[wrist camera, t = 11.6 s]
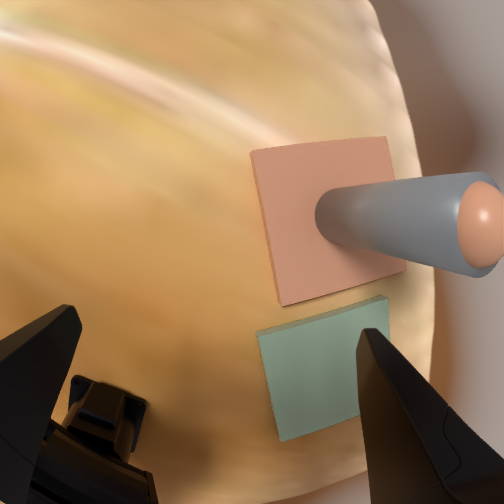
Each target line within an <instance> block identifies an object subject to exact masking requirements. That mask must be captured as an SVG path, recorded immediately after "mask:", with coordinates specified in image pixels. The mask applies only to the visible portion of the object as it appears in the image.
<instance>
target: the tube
mask: <svg viewBox="0 0 504 504" xmlns="http://www.w3.org/2000/svg"><path fill="white" fill-rule="evenodd" d="M315 222H316V226H317V228H318V230H319V232H320V233H321V235H322V236H323V237H324V238H326V239H327V240H329V241H331V242H334V243H338V244H342V245H346V246H350V247H355V248H359V249H363V250H367V251H371V252H375V253H380V254H384V255H388V256H392V257H396V258H400V259H404V260H408V261H412V262H416V263H420V264H424V265H428V266H431V267H436V268H440V269H443V270H447V271H451V272H454V273H458V274H462V275H466V276H470V277H473V278H480V277H483V276H485V275H487V274H488V273H490V272H491V271H492V269H493V268H494V267H495V266H496V264H497V263H498V261H499V260H500V259H501V258H502V257H503V256H504V195H503V194H502V193H501V191H500V189H499V187H498V185H497V184H496V182H495V181H494V180H493V179H492V178H491V177H490V176H489V175H487V174H485V173H482V172H468V173H457V174H447V175H437V176H428V177H419V178H410V179H402V180H393V181H385V182H378V183H370V184H363V185H356V186H348V187H342V188H335V189H331V190H329V191H327V192H326V193H324V194H323V195H322V196H321V198H320V199H319V201H318V203H317V205H316V208H315Z"/></svg>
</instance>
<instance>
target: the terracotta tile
mask: <svg viewBox="0 0 504 504" xmlns="http://www.w3.org/2000/svg"><path fill="white" fill-rule="evenodd" d="M250 157H251V162H252V167H253V172H254V177H255V182H256V187H257V192H258V197H259V202H260V207H261V212H262V218H263V223H264V228H265V233H266V238H267V244H268V249H269V254H270V260H271V265H272V270H273V276H274V281H275V286H276V292H277V297H278V303H279V304H280V305H281V306H286V305H289V304H293V303H297V302H301V301H304V300H308V299H312V298H315V297H319V296H323V295H326V294H330V293H333V292H337V291H340V290H344V289H347V288H350V287H354V286H357V285H360V284H364V283H367V282H370V281H374V280H377V279H380V278H383V277H386V276H390V275H393V274H396V273H399V272H402V271H405V270H406V260H404V259H400V258H396V257H392V256H388V255H384V254H380V253H375V252H371V251H367V250H363V249H359V248H355V247H350V246H346V245H342V244H338V243H334V242H331V241H329V240H327V239H326V238H324V237H323V236H322V235H321V233H320V232H319V230H318V228H317V226H316V222H315V208H316V205H317V203H318V201H319V199H320V198H321V196H322V195H323V194H324V193H326V192H327V191H329V190H331V189H335V188H342V187H348V186H356V185H363V184H370V183H378V182H385V181H393V180H395V177H394V171H393V166H392V161H391V156H390V151H389V147H388V142H387V138H386V136H384V137H367V138H354V139H342V140H331V141H321V142H311V143H303V144H295V145H287V146H279V147H272V148H265V149H259V150H252V151H251V152H250Z"/></svg>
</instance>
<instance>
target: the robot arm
mask: <svg viewBox="0 0 504 504" xmlns="http://www.w3.org/2000/svg"><path fill="white" fill-rule="evenodd" d="M81 332H82V323H81V321H80V318H79V316H78V313H77V311H76V309H75V307H74V306H72V305H67V304H63V305H61V306H59V307H57V308H55V309H54V310H52V311H50V312H48V313H47V314H45V315H43V316H41V317H40V318H38V319H36V320H34V321H33V322H31V323H29V324H27V325H26V326H24V327H22V328H21V329H19V330H17V331H16V332H14V333H12V334H10V335H9V336H7V337H5V338H4V339H2V340H0V501H2V502H3V503H5V504H159V503H158V498H157V494H156V489H155V485H154V480H153V475H152V473H150V472H147V471H142V470H140V469H138V468H136V467H134V466H132V465H130V464H128V461H129V456H130V453H132V452H134V451H135V447H136V443H137V439H138V435H139V431H140V427H141V423H142V420H143V416H144V412H145V409H146V402H145V400H143V399H141V398H138V397H135V396H132V395H129V394H126V393H123V392H122V391H119V390H116V389H113V388H111V387H108V386H105V385H103V384H100V383H97V382H94V381H91V380H89V379H86V378H84V377H81V376H79V375H74V376H73V378H72V380H71V387H70V396H69V406H68V413H67V415H66V417H65V419H64V421H63V422H62V424H61V425H60V424H58V423H57V422H55V421H54V420H52V419H51V415H52V412H53V409H54V407H55V404H56V401H57V399H58V396H59V393H60V391H61V388H62V386H63V383H64V381H65V378H66V376H67V373H68V371H69V368H70V365H71V362H72V359H73V356H74V353H75V350H76V347H77V344H78V341H79V338H80V335H81ZM356 368H357V387H358V403H359V410H360V416H361V423H362V430H363V437H364V444H365V452H366V460H367V468H368V477H369V486H370V498H371V504H504V459H503V458H502V457H501V456H500V455H499V454H498V453H497V452H496V451H495V450H494V449H492V448H491V447H490V446H489V445H488V444H487V443H486V442H485V441H484V440H483V439H481V438H480V437H479V436H478V435H477V434H476V433H475V432H474V431H473V430H472V429H471V428H470V427H469V426H468V425H467V424H466V423H465V422H464V421H463V420H462V419H461V418H460V417H459V416H458V415H457V414H456V412H455V411H454V410H453V409H452V408H451V407H450V406H448V404H447V402H446V401H445V400H444V399H443V398H442V397H441V396H440V395H439V394H438V393H437V391H436V390H435V389H434V388H433V387H432V386H431V385H430V384H429V383H428V382H427V381H426V380H425V378H424V377H423V376H422V375H421V374H420V373H419V372H418V371H417V370H416V369H415V368H414V367H413V366H412V364H411V363H410V362H409V361H408V360H407V359H406V358H405V357H404V356H403V355H402V354H401V353H400V352H399V351H398V350H397V349H396V348H395V347H394V345H393V344H392V343H391V342H390V341H389V340H388V339H387V338H386V337H385V336H384V335H383V334H382V333H381V332H380V331H379V330H378V329H377V328H364V329H363V330H362V331H361V335H360V338H359V341H358V344H357V348H356ZM76 380H78V381H79V383H78V382H76ZM138 403H140V404H142V406H140V405H138Z"/></svg>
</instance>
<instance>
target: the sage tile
mask: <svg viewBox="0 0 504 504" xmlns="http://www.w3.org/2000/svg"><path fill="white" fill-rule="evenodd" d="M364 328H377V329H378V330H379V331H380V332H381V333H382V334H383V335H384V336H385V337H386V338H387V339H388V340H389V341H390V328H389V306H388V298H387V297H385V296H383V295H380V296H377V297H374V298H371V299H368V300H365V301H362V302H358V303H355V304H352V305H349V306H346V307H343V308H339V309H336V310H333V311H329V312H326V313H323V314H319V315H316V316H312V317H309V318H305V319H302V320H298V321H295V322H291V323H287V324H284V325H280V326H276V327H272V328H269V329H265V330H261V331H257V332H256V337H257V341H258V346H259V351H260V355H261V360H262V365H263V369H264V374H265V379H266V383H267V388H268V392H269V397H270V401H271V406H272V410H273V415H274V419H275V424H276V428H277V433H278V436H279V439H280V441H281V442H284V441H287V440H290V439H294V438H297V437H300V436H303V435H306V434H309V433H312V432H315V431H318V430H321V429H324V428H327V427H330V426H332V425H335V424H338V423H340V422H343V421H346V420H348V419H351V418H353V417H356V416H358V415H360V410H359V403H358V387H357V368H356V348H357V344H358V341H359V338H360V335H361V331H362V330H363V329H364Z"/></svg>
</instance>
